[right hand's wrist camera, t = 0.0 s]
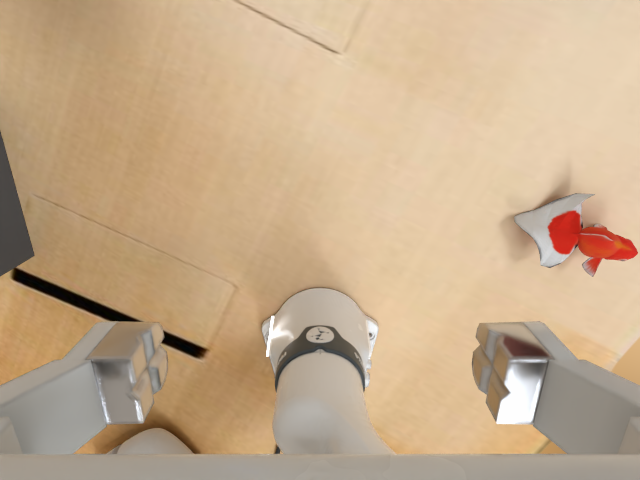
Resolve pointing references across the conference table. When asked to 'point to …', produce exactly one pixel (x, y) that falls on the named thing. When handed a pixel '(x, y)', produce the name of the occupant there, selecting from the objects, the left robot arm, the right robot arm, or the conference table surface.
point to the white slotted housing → (152, 444)
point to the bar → (11, 220)
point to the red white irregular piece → (572, 234)
